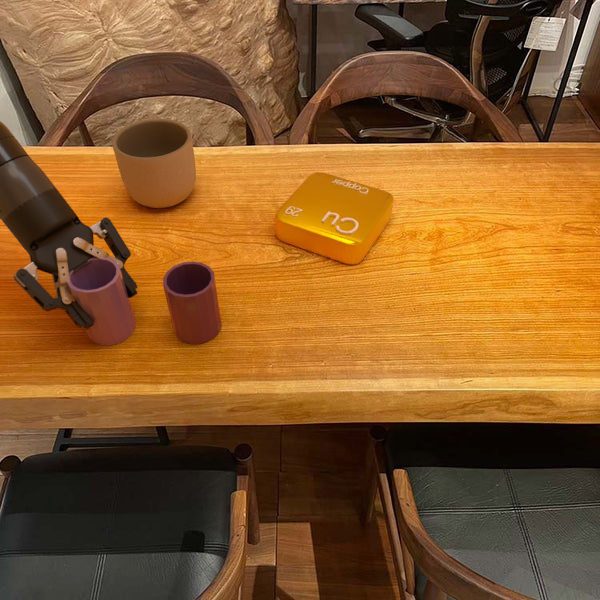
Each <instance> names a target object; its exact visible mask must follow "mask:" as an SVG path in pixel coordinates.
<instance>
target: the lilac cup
mask: <svg viewBox="0 0 600 600" xmlns="http://www.w3.org/2000/svg"><path fill="white" fill-rule="evenodd" d="M88 261H92V262H91V263H89V264H88V265H86V266H83V267H81V268H80V269H79V270H78V271H77V272H76V273H74V274H72V273H73V271H74V270H72V271H71V272H69V275H70V279H69V280H67V284H68V286H69V288H70V291H71V294H72V300H73V301H74V302H75V301H77V302H78V304H79V305H80V306H81V308H82V309H83V310H84V311H85V313H86V314H87V315H88V316H89V318H90V319H91V320H92V321H93V323H94V325H93V326H92V327H90V328H89V329H87V330H86V329H85V332H86V334H87V336H88V338H89V339H90V341H92V342H93V343H95V344H97V345H99V346H115V345H118V344H121V343H122V342H125V341H126V340H127V339H129V338H130V337H131V336H132V335H133V333H134V332H135V329H136V325H137V322H136V317H135V313H134V310H133V307H132V303H131V301H130V298H129V296H128V293H127V290H126V286H125V283H124V280H123V276H122V273H121V270H120V267H119V265H118V264H117V262H115V261H114V260H112V259H110V258H105V257H102V258H101V259H99V258H95V257H93V258H91V259H89V260H88Z"/></svg>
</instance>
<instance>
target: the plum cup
mask: <svg viewBox="0 0 600 600" xmlns="http://www.w3.org/2000/svg"><path fill="white" fill-rule="evenodd" d="M162 286H163V287H162V288H163V292H164V295H165V299H166V303H167V309H168V313H169V317H170V320H171V321H170V322H171V325H172V329H173V332H174V335H175V337H176V338H177V339H178V340H180V341H181V342H183V343H186V344H189V345H201V344H205V343H208V342H210V341H211V340H213V339H215V337H217V336H218V334H219V333H220V331H221V329H222V318H221V311H220V310H221V309H220V304H219V303H220V302H219V297H218V289H217V283H216V276H215V272H214V271H213V269H212V268H211V266H209V265H207V264H205V263H204V262H199V261H184V262H180V263H178V264H174V265H173V266H172V267H170V268H169V269H168V270H167V271H166V273H165V274H164V276H163V277H162Z"/></svg>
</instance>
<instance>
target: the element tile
mask: <svg viewBox="0 0 600 600" xmlns="http://www.w3.org/2000/svg"><path fill="white" fill-rule="evenodd" d="M393 206H394V196H393V195H392V194H391V192H389V191H386V190H383V189H381V188H377V187H374V186H370V185H366V184H363V183H361V182H360V183H359V182H357V181H353V180H351V179H346V178H343V177H340V176H336V175H333V174H330V173H326V172H321V171H316V172H314V173H312V174H310V175H309V176H308V177H307V178H306V179H305V180H304V181H303V182H302V183H301V184H300V186H298V187H297V189H295V191H293V193H292V194H291V195H290V196H289V197H288V198H287V199H286V201H285V202H284V203H283V204H281V206H280V207H279V208H278V209H277V210H276V212H275V215H274V219H275V220H274V221H275V236H276V239H278V240H279V241H280V242H282V243H285V244H287V245H291V246H294V247H296V248H299V249H303V250H305V251H307V252H311V253H314V254H316V255H319V256H322V257H325V258H327V259H331V260H333V261H336V262H339V263H342V264H345V265H357V264H359V263H362V261H363V260H364V259H365V258H366V256H367V254H368V253H369V252H370V250H371V249H372V248H373V246H374V244H375V243H376V242H377V240H378V239H379V237H380V236H381V234H382V233H383V231H384V230H385V228H387V226H388V224H389V223H390V221H391V220H392V214H393V213H392V212H393Z"/></svg>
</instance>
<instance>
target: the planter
mask: <svg viewBox="0 0 600 600" xmlns="http://www.w3.org/2000/svg"><path fill="white" fill-rule="evenodd" d="M111 141H112V142H111V144H112V149H113V153H114V156H115V160H116V163H117V167H118V172H119V173H120V178H121V181H122V184H123V186H124V188H125V190H126V192H127V193H128V195H129V196H130V198H132V200H134V201H135V202H136V203H138V204H140V205H142V206H144V207H148V208H153V209H165V208H170V207H174V206H176V205H178V204H180V203H182V202H183V201H185V200H186V199H187V198H188V197H189V196H190V195H191V194H192V193H193V190H194V187H195V184H196V181H197V169H196V158H195V150H194V145H193V144H194V143H193V136H192V132H191V130H190V128H189V127H188V126H187V125H185V124H184V123H183V122H180V121H177V120H174V119H169V118H161V117H160V118H147V119H146V118H145V119H141V120H137V121H134V122H131V123H129V124H127V125H125V126H124V127H121V128H120V129H119V130H118V131H117V132H116V133H115V134H114V136H113V138H112V140H111Z"/></svg>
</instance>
